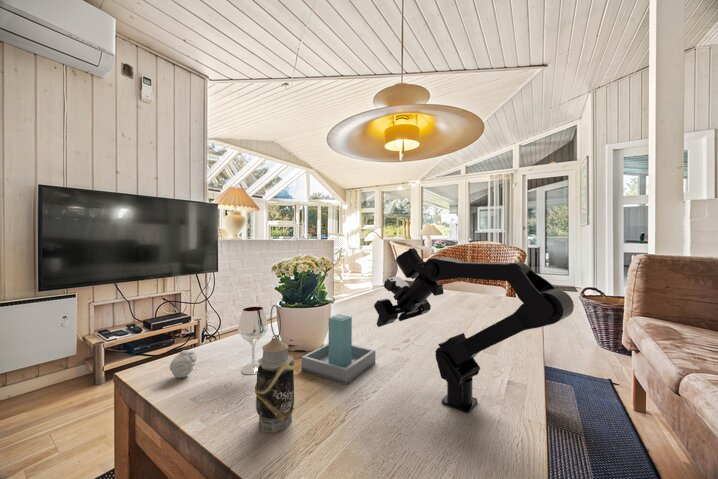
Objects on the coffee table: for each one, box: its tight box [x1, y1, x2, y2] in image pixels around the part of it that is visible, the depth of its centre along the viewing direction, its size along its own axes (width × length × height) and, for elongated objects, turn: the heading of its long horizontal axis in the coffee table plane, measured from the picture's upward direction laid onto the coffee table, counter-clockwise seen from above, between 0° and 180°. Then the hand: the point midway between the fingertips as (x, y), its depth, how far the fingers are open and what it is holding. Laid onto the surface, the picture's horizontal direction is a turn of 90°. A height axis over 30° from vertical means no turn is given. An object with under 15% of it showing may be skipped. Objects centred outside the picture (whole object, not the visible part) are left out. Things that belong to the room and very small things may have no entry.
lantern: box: [254, 304, 296, 433], centre depth 62 cm, size 9×8×25 cm
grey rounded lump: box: [169, 349, 197, 379], centre depth 82 cm, size 6×7×7 cm
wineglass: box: [237, 306, 269, 376], centre depth 87 cm, size 8×8×18 cm
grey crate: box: [300, 342, 376, 386], centre depth 89 cm, size 16×16×4 cm
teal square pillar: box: [328, 314, 353, 367], centre depth 89 cm, size 5×5×14 cm
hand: (388, 322), depth 88 cm, fingers open, 9 cm apart
